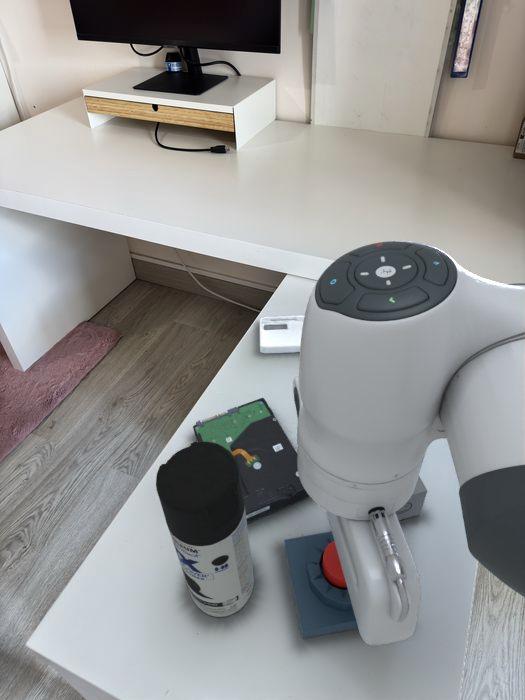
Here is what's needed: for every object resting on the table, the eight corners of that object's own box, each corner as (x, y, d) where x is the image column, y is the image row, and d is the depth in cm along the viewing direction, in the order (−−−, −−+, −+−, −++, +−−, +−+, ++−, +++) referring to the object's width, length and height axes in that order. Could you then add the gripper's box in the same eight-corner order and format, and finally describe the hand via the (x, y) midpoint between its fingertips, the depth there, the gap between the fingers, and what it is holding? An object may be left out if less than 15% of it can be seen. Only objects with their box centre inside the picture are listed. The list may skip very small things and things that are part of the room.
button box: (374, 533, 55) (378, 515, 53) (403, 620, 49) (409, 603, 46) (284, 549, 55) (284, 531, 52) (302, 639, 48) (302, 623, 45)
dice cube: (378, 525, 56) (383, 502, 53) (360, 487, 60) (364, 463, 56) (419, 514, 57) (427, 490, 53) (400, 477, 60) (406, 453, 57)
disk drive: (316, 495, 59) (264, 408, 69) (317, 482, 57) (263, 395, 67) (235, 532, 56) (192, 435, 66) (233, 519, 55) (189, 422, 64)
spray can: (177, 582, 52) (136, 473, 39) (227, 539, 56) (205, 425, 42) (217, 633, 49) (186, 532, 35) (268, 584, 52) (258, 474, 38)
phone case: (260, 354, 77) (358, 350, 77) (259, 347, 76) (358, 343, 76) (259, 323, 83) (351, 319, 82) (259, 317, 82) (352, 313, 81)
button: (356, 544, 51) (358, 535, 50) (369, 584, 48) (370, 576, 47) (318, 551, 51) (318, 542, 49) (328, 591, 48) (328, 583, 46)
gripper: (462, 591, 29) (421, 664, 39) (359, 354, 44) (347, 448, 54) (357, 610, 29) (341, 680, 38) (288, 364, 44) (289, 457, 53)
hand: (344, 543), depth 46 cm, fingers closed
